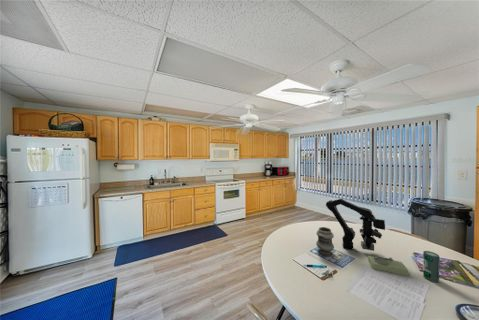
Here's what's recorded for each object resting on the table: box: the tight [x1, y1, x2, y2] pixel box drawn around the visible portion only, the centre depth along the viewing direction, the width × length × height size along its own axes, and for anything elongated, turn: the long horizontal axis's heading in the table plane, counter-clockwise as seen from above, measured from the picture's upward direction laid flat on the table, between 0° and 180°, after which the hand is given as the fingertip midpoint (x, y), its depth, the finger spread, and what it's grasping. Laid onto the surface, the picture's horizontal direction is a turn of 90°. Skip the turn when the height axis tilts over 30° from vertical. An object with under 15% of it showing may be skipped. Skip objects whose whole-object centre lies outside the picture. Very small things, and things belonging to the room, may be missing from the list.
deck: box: [367, 254, 409, 277], centre depth 114 cm, size 18×14×4 cm
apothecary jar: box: [316, 226, 335, 257], centre depth 130 cm, size 12×12×18 cm
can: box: [422, 250, 441, 283], centre depth 101 cm, size 6×6×15 cm
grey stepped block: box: [360, 240, 375, 252], centre depth 128 cm, size 7×5×4 cm
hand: (367, 246), depth 128 cm, fingers closed on grey stepped block, 5 cm apart
